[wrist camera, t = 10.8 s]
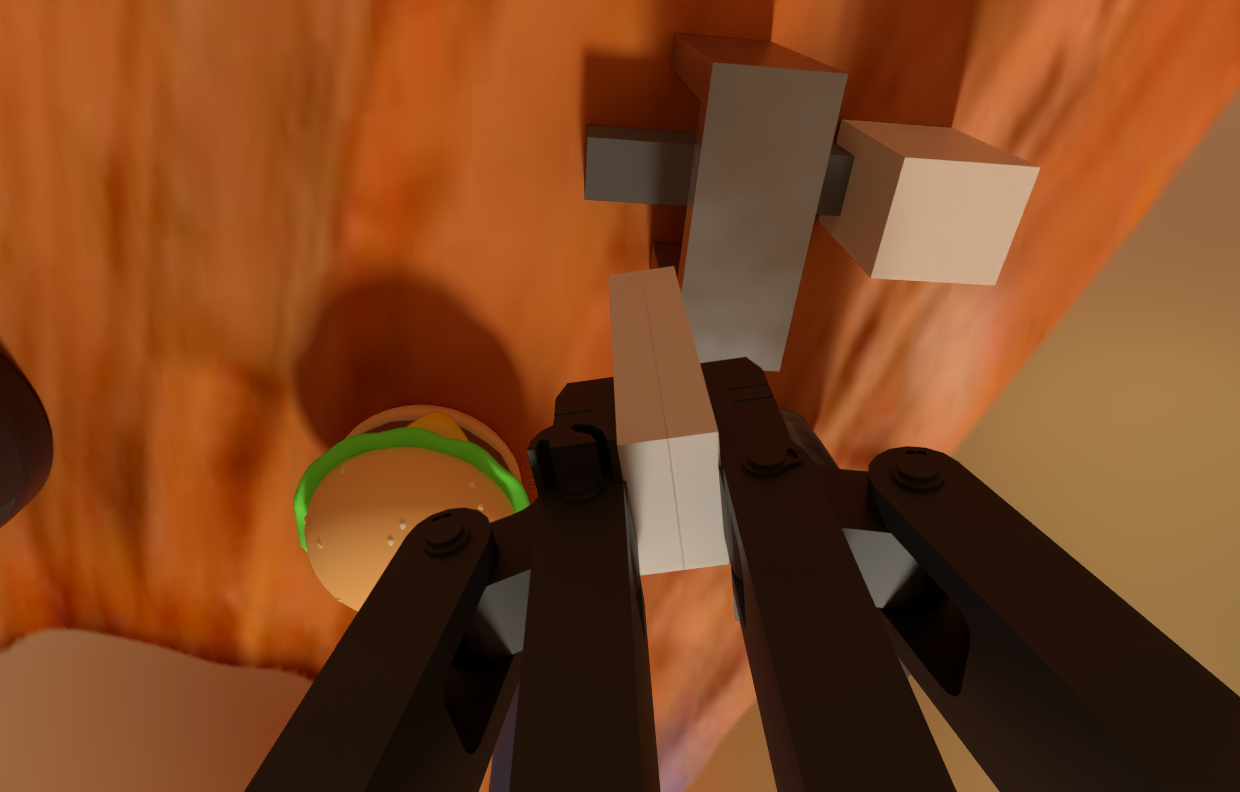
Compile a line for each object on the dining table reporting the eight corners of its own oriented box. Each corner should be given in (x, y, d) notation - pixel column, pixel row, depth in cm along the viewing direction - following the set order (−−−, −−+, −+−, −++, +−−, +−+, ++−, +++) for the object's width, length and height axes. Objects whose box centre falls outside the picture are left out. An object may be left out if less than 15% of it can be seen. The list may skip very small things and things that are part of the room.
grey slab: (649, 266, 33) (671, 366, 25) (674, 33, 28) (713, 62, 20) (731, 271, 34) (779, 371, 26) (771, 41, 28) (848, 73, 20)
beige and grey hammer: (583, 205, 32) (583, 261, 26) (588, 99, 29) (590, 134, 23) (920, 227, 33) (994, 285, 27) (951, 127, 31) (1040, 167, 25)
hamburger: (577, 500, 41) (577, 617, 34) (411, 575, 44) (377, 699, 36) (458, 343, 35) (426, 442, 28) (275, 440, 38) (201, 555, 30)
